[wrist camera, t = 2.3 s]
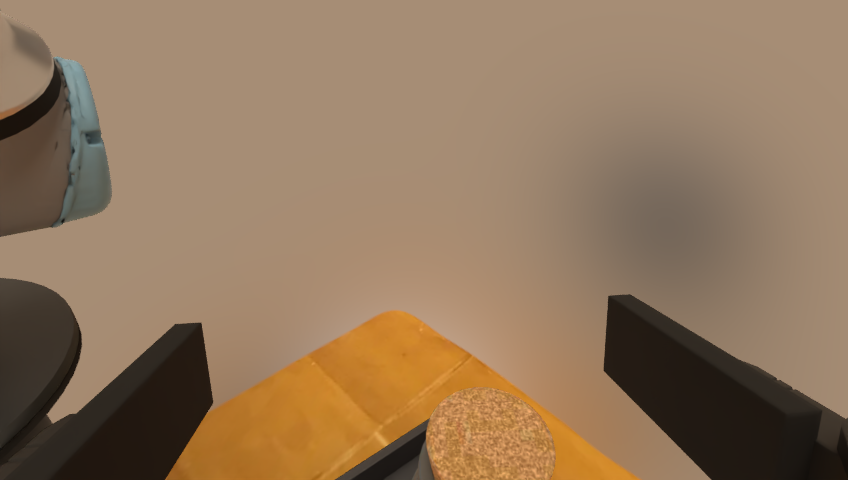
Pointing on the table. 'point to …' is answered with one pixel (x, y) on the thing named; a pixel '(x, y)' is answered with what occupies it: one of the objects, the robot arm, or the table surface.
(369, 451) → the table surface
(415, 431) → the baking tray
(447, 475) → the bottle
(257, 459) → the table surface
